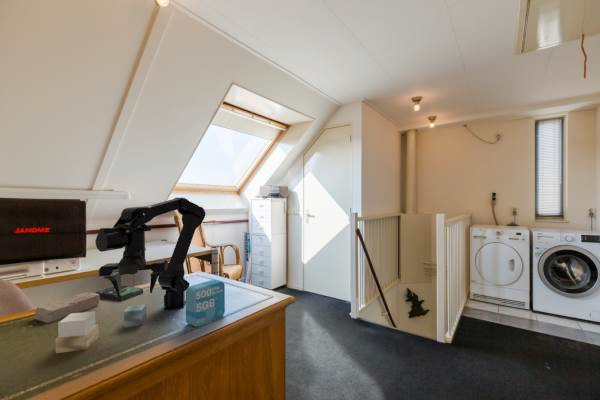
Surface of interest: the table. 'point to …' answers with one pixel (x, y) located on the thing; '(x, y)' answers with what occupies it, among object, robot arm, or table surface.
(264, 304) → the table surface
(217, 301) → the data package
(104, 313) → the table surface
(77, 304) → the brick
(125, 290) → the disk drive
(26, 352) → the table surface
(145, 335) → the table surface
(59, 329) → the white slab
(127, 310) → the blue cube
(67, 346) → the oak slab
